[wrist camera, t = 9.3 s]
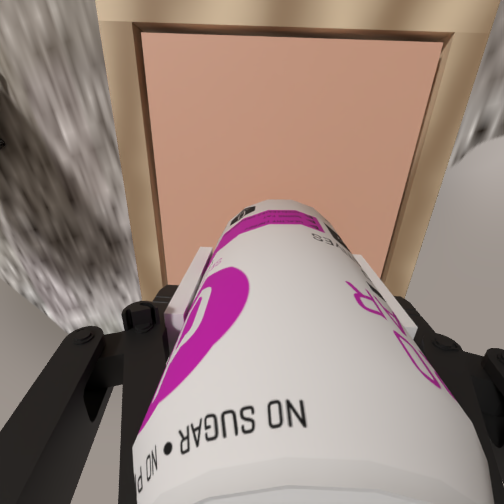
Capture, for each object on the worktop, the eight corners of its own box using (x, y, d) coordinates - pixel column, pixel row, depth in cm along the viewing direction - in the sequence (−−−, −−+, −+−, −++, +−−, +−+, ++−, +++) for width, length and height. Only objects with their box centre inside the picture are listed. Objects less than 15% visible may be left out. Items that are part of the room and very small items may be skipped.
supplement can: (199, 273, 20) (51, 599, 6) (256, 171, 17) (217, 368, 3) (293, 320, 21) (347, 672, 7) (361, 234, 18) (674, 569, 4)
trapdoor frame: (365, 70, 35) (504, -13, 15) (336, 236, 44) (396, 323, 24) (189, 63, 35) (91, -25, 15) (197, 229, 45) (143, 309, 25)
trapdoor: (420, 53, 18) (443, 42, 16) (364, 283, 26) (374, 298, 23) (156, 44, 19) (140, 32, 16) (176, 274, 26) (168, 287, 24)
